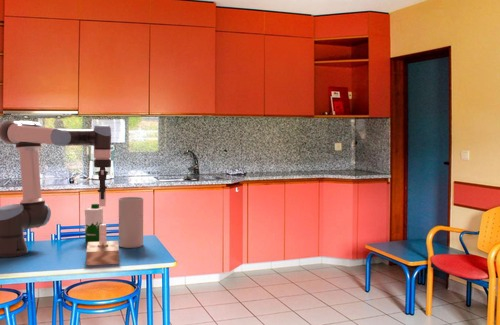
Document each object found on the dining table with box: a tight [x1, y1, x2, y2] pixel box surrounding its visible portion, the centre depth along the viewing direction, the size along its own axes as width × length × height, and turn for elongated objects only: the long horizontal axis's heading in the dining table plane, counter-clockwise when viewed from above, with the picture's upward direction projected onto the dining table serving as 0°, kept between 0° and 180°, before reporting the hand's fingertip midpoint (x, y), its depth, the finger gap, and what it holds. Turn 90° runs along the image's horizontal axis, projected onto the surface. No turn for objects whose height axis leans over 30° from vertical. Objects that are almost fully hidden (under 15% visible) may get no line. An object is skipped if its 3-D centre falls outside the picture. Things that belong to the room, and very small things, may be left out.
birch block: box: [85, 240, 120, 266], centre depth 235 cm, size 14×22×6 cm, turn 16°
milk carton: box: [84, 203, 104, 243], centre depth 273 cm, size 9×9×20 cm
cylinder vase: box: [118, 196, 144, 249], centre depth 263 cm, size 12×12×25 cm
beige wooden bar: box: [99, 223, 107, 247], centre depth 235 cm, size 3×3×16 cm
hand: (102, 204), depth 234 cm, fingers open, 13 cm apart
